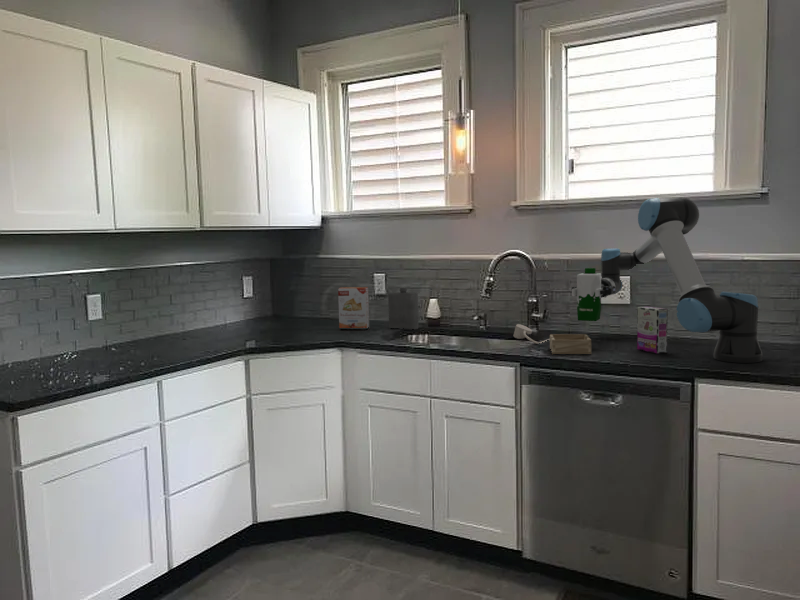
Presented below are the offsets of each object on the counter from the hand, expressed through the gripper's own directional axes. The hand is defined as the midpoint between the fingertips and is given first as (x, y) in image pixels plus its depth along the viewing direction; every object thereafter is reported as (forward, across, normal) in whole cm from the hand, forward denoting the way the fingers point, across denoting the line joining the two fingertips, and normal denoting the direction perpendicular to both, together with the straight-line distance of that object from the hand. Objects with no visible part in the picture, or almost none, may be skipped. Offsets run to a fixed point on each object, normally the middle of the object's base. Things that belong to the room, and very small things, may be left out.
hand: (584, 292), depth 259 cm
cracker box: (-5, +117, -22) cm, 120 cm away
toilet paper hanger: (-15, +28, -23) cm, 39 cm away
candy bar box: (-7, -24, -22) cm, 33 cm away
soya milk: (-5, 0, -11) cm, 12 cm away
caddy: (+7, +3, -22) cm, 23 cm away
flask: (-18, +97, -22) cm, 101 cm away
